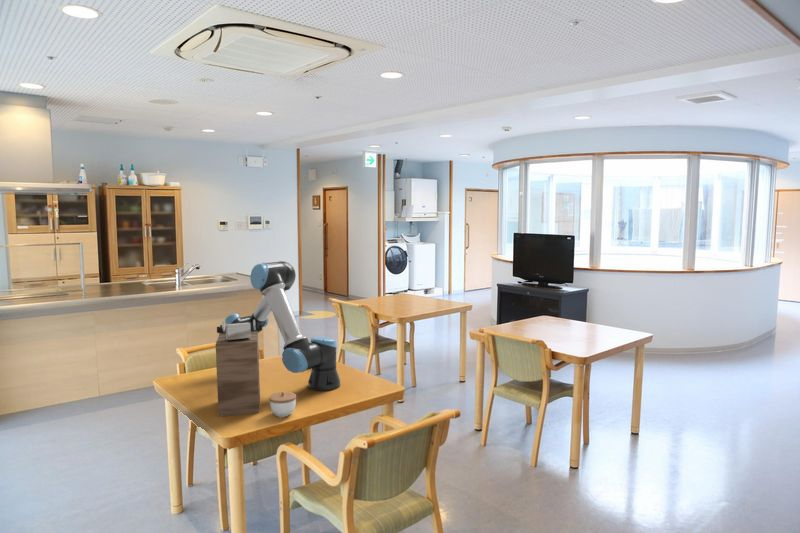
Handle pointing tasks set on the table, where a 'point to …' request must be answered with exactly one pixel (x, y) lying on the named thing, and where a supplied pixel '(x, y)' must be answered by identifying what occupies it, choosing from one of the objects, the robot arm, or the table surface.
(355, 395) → the table surface
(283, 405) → the lidded jar
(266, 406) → the table surface
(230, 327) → the pale grey block
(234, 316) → the robot arm
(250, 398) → the stand
